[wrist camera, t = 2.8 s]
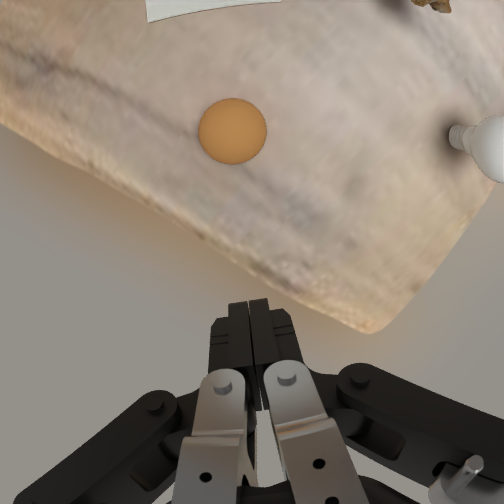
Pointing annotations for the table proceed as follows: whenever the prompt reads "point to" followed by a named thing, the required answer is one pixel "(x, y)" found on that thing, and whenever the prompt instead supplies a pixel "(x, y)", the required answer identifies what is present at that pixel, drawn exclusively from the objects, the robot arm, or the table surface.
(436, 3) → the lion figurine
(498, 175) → the lightbulb
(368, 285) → the table surface
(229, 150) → the ball
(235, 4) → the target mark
